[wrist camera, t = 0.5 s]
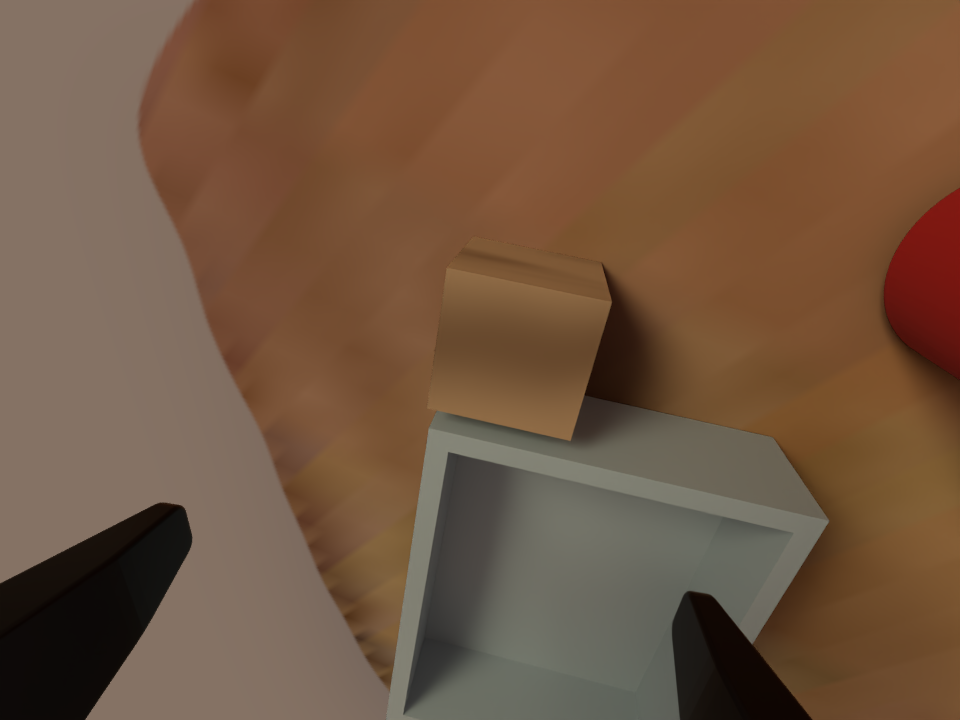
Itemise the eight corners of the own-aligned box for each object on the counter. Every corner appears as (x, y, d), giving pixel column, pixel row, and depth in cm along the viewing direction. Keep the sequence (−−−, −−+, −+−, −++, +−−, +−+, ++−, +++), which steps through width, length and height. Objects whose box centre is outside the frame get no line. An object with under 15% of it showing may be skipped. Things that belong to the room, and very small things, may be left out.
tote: (643, 690, 29) (657, 794, 24) (413, 630, 30) (385, 720, 25) (772, 437, 21) (829, 520, 16) (457, 367, 22) (428, 428, 17)
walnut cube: (569, 375, 21) (570, 441, 17) (455, 350, 22) (426, 408, 17) (600, 261, 19) (612, 302, 15) (473, 235, 20) (446, 267, 15)
